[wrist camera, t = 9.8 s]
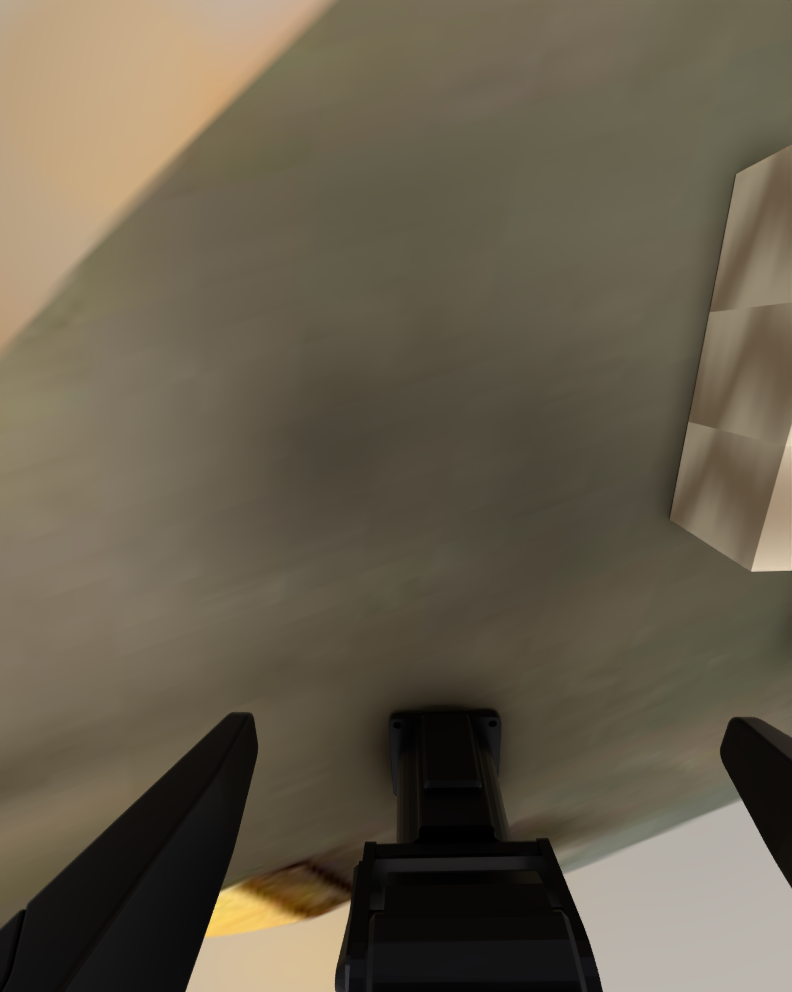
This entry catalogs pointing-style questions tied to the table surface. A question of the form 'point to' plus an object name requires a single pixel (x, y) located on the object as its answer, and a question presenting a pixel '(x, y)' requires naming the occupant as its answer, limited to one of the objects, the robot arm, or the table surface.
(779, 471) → the hole block
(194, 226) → the table surface
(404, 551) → the table surface
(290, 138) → the table surface
